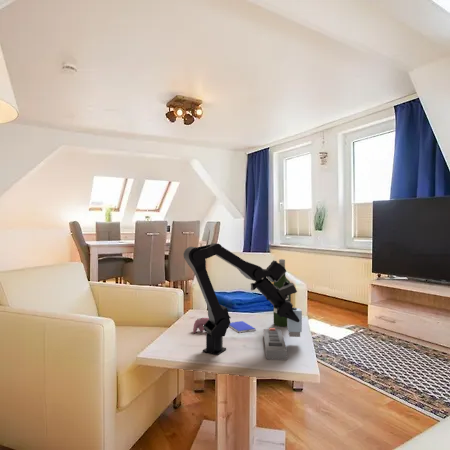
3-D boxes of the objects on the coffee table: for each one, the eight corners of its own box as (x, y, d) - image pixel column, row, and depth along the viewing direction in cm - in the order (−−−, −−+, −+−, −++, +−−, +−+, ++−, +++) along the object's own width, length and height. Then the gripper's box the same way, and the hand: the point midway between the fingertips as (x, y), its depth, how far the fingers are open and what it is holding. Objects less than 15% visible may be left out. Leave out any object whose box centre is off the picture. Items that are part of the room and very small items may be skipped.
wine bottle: (273, 326, 152) (273, 260, 152) (273, 321, 160) (273, 258, 160) (291, 327, 151) (291, 260, 151) (290, 322, 158) (290, 258, 159)
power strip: (287, 359, 113) (287, 349, 113) (266, 359, 114) (266, 348, 114) (279, 331, 144) (279, 323, 144) (263, 331, 145) (263, 322, 145)
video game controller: (216, 335, 144) (217, 318, 147) (215, 333, 140) (216, 316, 143) (193, 334, 145) (195, 318, 148) (192, 332, 141) (193, 316, 144)
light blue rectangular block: (301, 337, 127) (301, 309, 127) (288, 337, 127) (288, 309, 127) (300, 334, 131) (300, 306, 131) (287, 333, 131) (287, 306, 131)
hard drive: (227, 322, 154) (238, 330, 143) (243, 320, 157) (255, 328, 146) (227, 326, 154) (238, 334, 143) (243, 324, 157) (255, 331, 146)
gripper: (286, 279, 120) (318, 311, 119) (281, 272, 139) (308, 300, 138) (264, 301, 121) (295, 332, 120) (262, 291, 139) (289, 318, 138)
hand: (298, 319), depth 129 cm, fingers closed on light blue rectangular block, 4 cm apart
